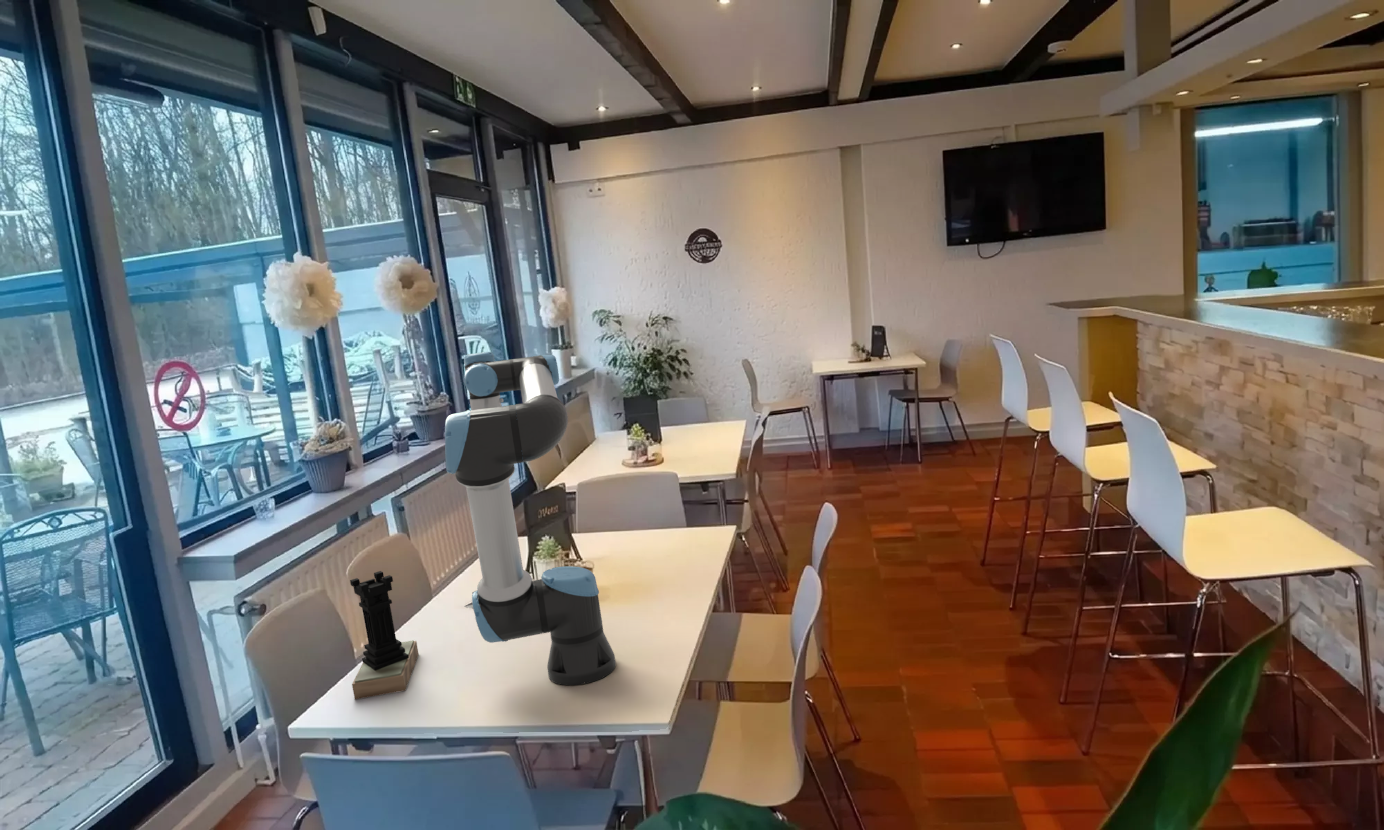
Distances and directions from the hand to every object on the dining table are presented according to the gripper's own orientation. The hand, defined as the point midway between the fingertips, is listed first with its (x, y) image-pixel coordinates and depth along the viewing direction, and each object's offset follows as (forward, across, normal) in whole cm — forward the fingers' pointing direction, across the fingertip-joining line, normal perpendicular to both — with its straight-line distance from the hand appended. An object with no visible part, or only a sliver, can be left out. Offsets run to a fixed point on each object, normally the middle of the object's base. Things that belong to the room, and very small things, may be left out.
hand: (500, 495), depth 219 cm
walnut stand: (+35, -19, +30) cm, 50 cm away
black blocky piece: (+36, +20, +11) cm, 42 cm away
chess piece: (+31, -19, +30) cm, 47 cm away
